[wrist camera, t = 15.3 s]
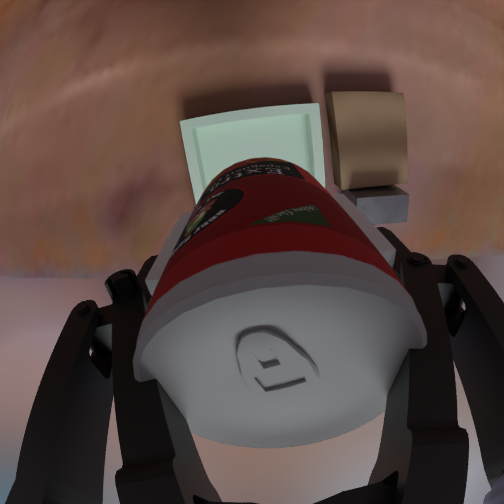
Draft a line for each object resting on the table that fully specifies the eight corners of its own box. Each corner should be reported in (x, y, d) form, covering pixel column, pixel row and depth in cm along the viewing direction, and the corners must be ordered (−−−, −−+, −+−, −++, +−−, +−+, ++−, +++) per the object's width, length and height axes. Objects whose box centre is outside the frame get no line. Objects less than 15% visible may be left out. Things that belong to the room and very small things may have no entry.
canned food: (277, 125, 13) (359, 171, 3) (353, 235, 16) (444, 384, 6) (169, 212, 15) (77, 370, 6) (255, 299, 18) (260, 460, 9)
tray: (185, 120, 25) (179, 121, 23) (312, 103, 24) (318, 103, 22) (207, 233, 31) (205, 243, 29) (320, 219, 30) (326, 228, 28)
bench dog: (341, 183, 28) (357, 198, 24) (387, 180, 28) (409, 194, 24) (341, 208, 30) (356, 226, 26) (386, 204, 30) (406, 221, 25)
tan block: (323, 93, 24) (331, 91, 21) (389, 93, 23) (403, 93, 21) (333, 182, 29) (341, 189, 26) (394, 176, 28) (407, 183, 26)
